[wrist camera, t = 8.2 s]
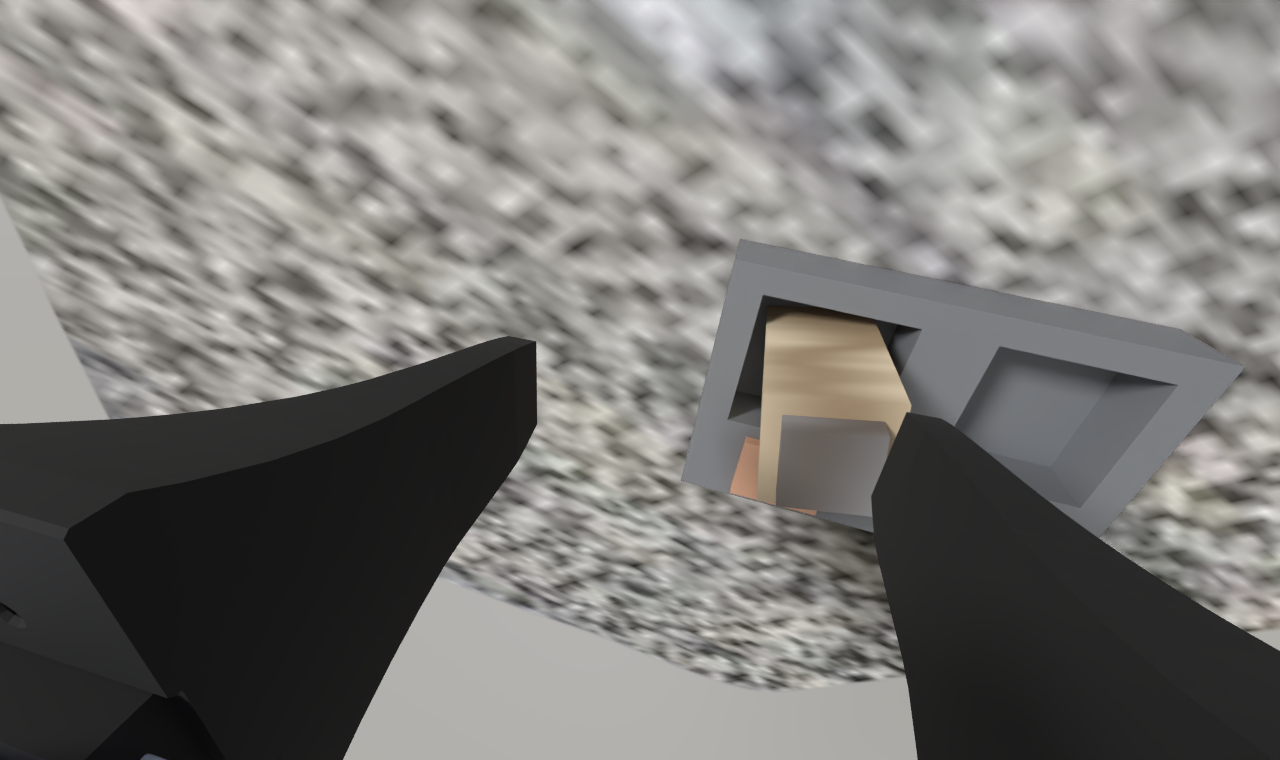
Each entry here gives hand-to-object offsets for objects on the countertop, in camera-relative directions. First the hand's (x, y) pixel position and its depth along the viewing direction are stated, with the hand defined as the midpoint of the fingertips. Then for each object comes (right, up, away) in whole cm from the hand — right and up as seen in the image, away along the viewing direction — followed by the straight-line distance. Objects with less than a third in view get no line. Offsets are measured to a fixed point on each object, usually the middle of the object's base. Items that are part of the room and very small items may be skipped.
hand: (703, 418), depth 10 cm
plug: (+5, +2, +9) cm, 10 cm away
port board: (+8, 0, +9) cm, 12 cm away
